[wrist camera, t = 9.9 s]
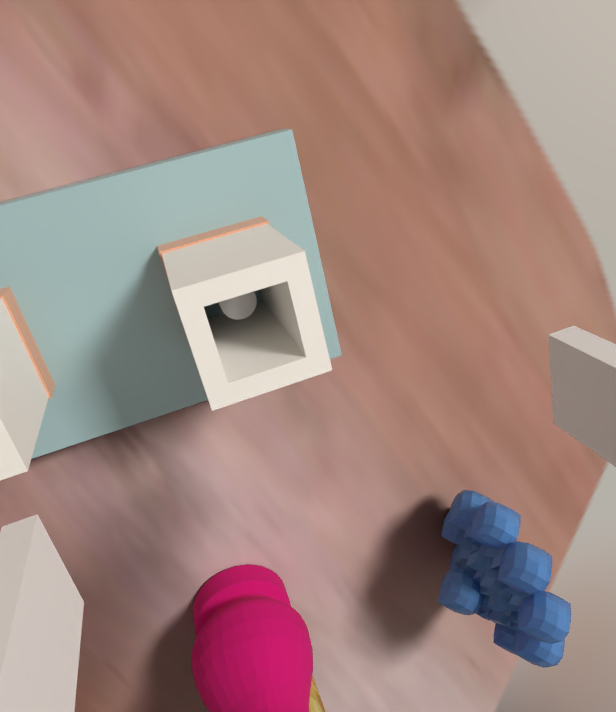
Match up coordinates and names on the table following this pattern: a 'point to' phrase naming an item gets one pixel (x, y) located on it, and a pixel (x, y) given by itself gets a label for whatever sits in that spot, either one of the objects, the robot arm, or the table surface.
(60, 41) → the table surface
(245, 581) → the pepper mill
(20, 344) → the seated sleeve
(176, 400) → the pin board
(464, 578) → the grapes
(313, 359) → the sleeve
